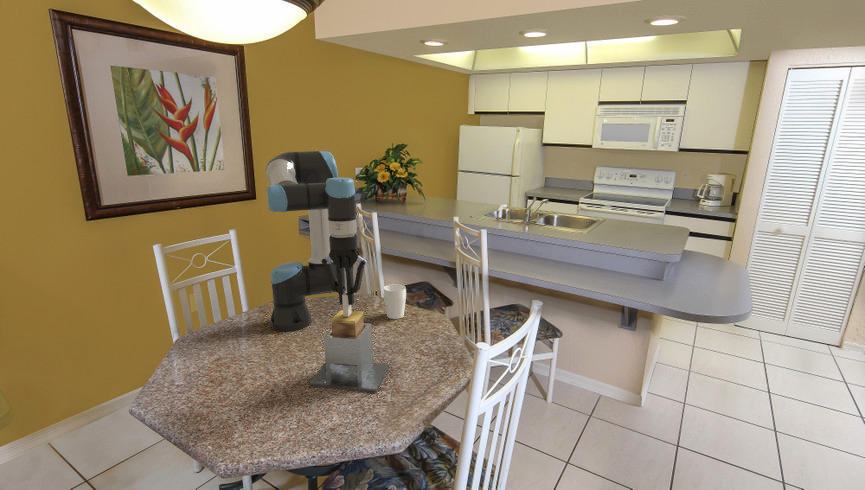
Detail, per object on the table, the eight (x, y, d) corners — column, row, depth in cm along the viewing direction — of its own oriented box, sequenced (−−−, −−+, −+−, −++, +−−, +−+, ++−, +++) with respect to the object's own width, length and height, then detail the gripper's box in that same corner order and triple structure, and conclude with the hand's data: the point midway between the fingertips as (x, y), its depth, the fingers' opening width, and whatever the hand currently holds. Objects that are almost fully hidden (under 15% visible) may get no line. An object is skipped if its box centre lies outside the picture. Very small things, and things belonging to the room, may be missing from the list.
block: (334, 364, 124) (331, 319, 120) (343, 352, 130) (340, 310, 127) (357, 366, 123) (355, 321, 119) (365, 354, 129) (363, 311, 126)
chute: (309, 386, 123) (305, 338, 119) (328, 362, 136) (325, 318, 133) (376, 392, 120) (374, 343, 116) (389, 367, 133) (388, 322, 129)
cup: (403, 321, 166) (402, 292, 164) (381, 319, 168) (380, 290, 165) (409, 312, 175) (408, 284, 172) (388, 310, 177) (387, 283, 174)
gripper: (314, 236, 115) (320, 318, 120) (361, 238, 113) (365, 321, 118) (326, 231, 122) (331, 308, 128) (370, 232, 120) (373, 311, 126)
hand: (347, 314), depth 123 cm, fingers closed
